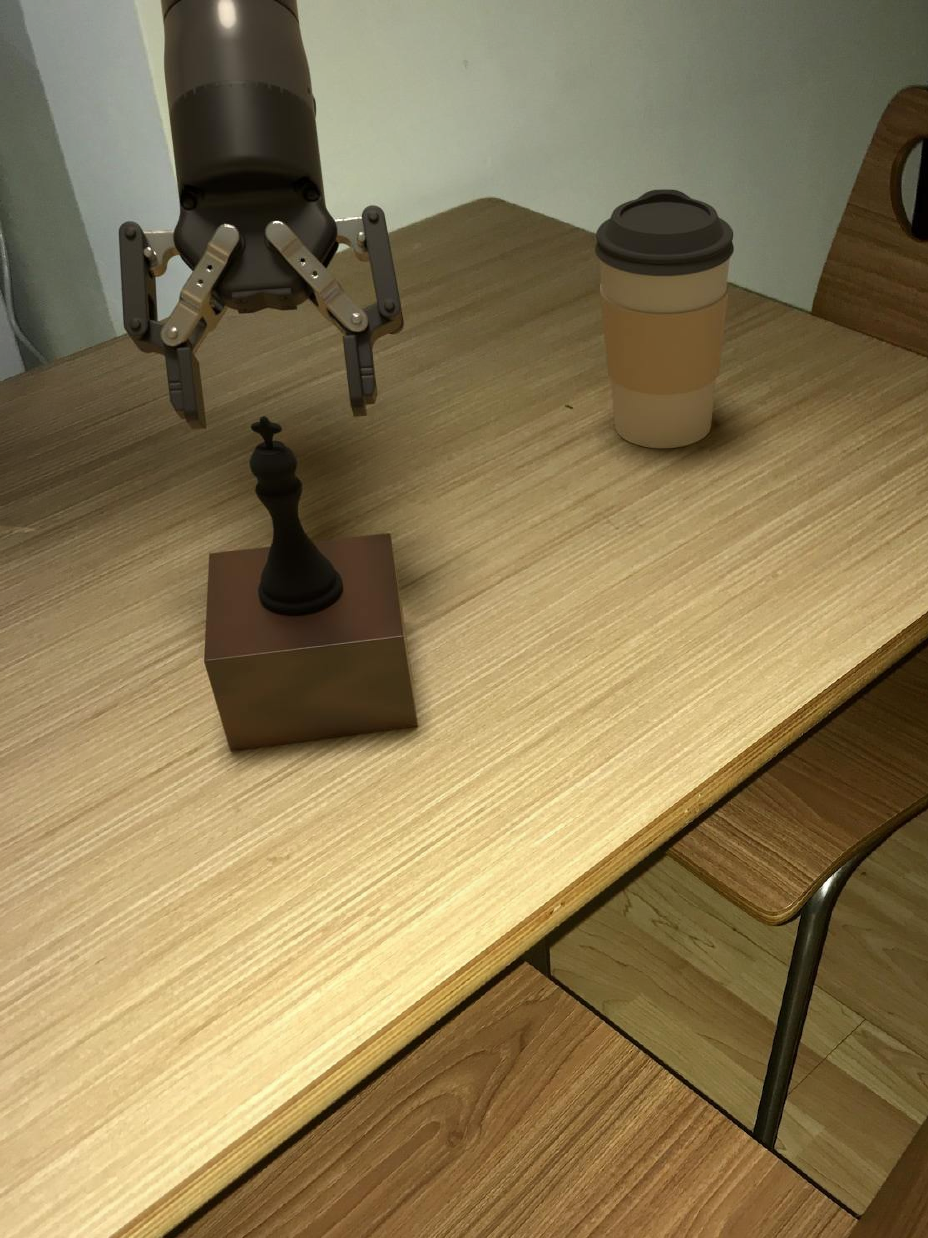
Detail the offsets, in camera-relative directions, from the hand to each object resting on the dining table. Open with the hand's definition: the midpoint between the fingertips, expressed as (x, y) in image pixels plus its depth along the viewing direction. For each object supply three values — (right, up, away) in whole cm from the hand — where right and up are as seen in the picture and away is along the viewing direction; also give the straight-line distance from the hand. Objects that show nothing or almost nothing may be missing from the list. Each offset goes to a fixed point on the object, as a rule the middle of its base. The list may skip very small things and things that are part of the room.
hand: (278, 418), depth 71 cm
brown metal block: (+1, -14, +4) cm, 14 cm away
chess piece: (+1, -9, 0) cm, 9 cm away
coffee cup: (+21, +7, +25) cm, 34 cm away
